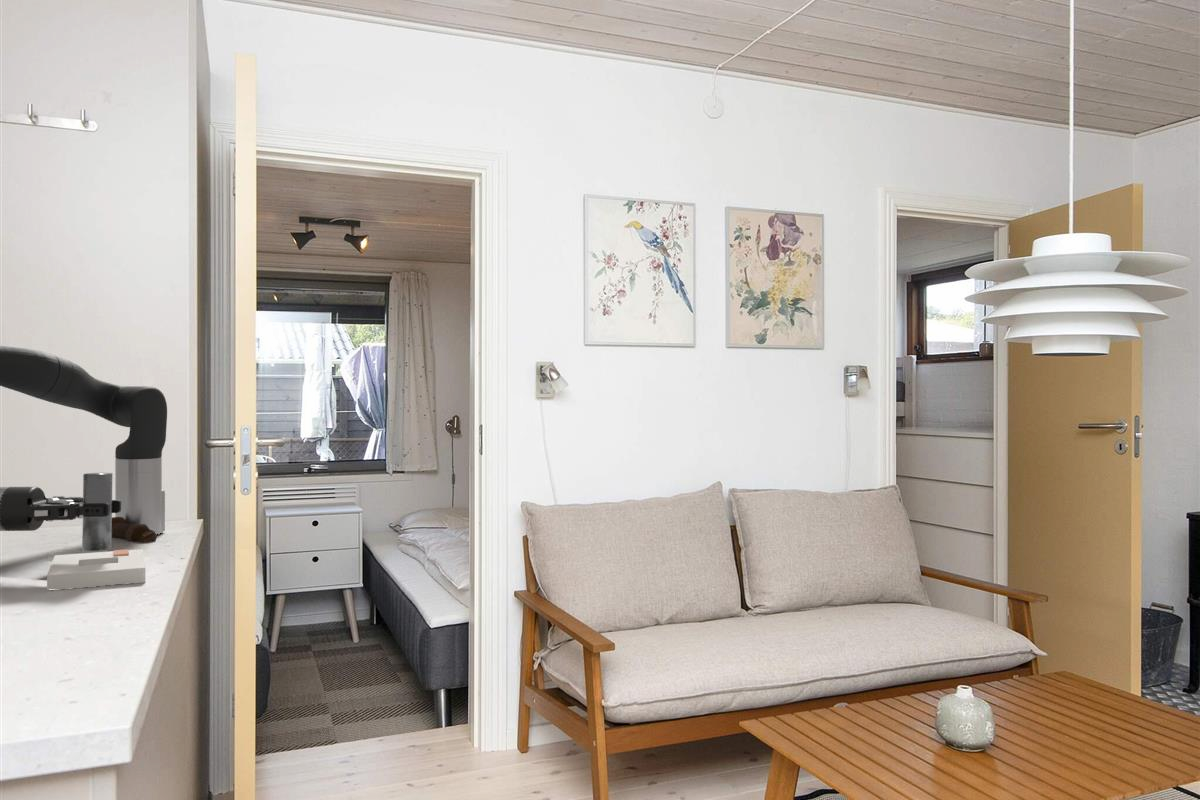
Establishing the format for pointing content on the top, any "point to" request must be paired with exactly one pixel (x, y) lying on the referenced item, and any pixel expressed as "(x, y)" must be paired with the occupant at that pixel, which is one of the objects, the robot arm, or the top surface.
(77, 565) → the plate
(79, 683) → the top surface
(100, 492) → the cylinder
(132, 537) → the bolt
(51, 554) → the mat
